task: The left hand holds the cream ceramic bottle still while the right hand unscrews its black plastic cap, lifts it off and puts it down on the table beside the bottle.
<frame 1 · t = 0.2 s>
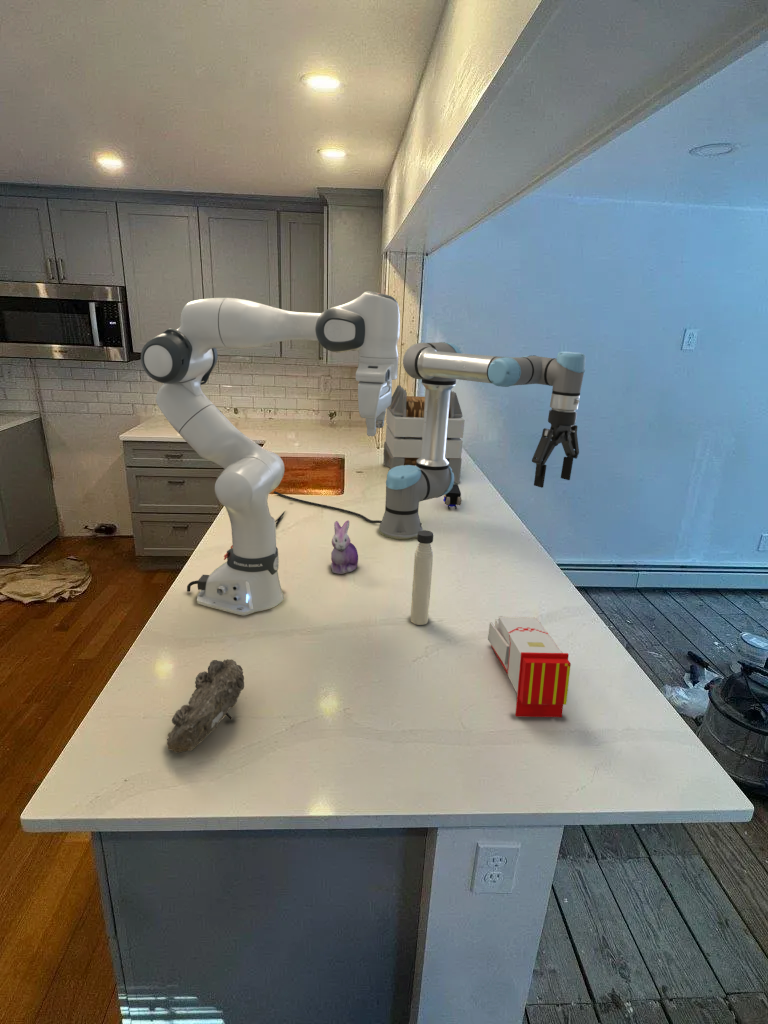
left hand: (375, 431, 131), 48 cm above the counter, tool pointing down, fingers open, 8 cm apart
right hand: (552, 482, 165), 29 cm above the counter, tool pointing down, fingers open, 13 cm apart
feather: (283, 515, 213), on the counter
toy: (520, 675, 125), on the counter
figurine: (344, 568, 172), on the counter
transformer: (419, 473, 275), on the counter
bottle: (419, 620, 145), on the counter
cap: (425, 534, 137), point 24 cm above the counter, screwed on, not yet turned
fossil: (212, 717, 108), on the counter
figurine character: (451, 505, 231), on the counter
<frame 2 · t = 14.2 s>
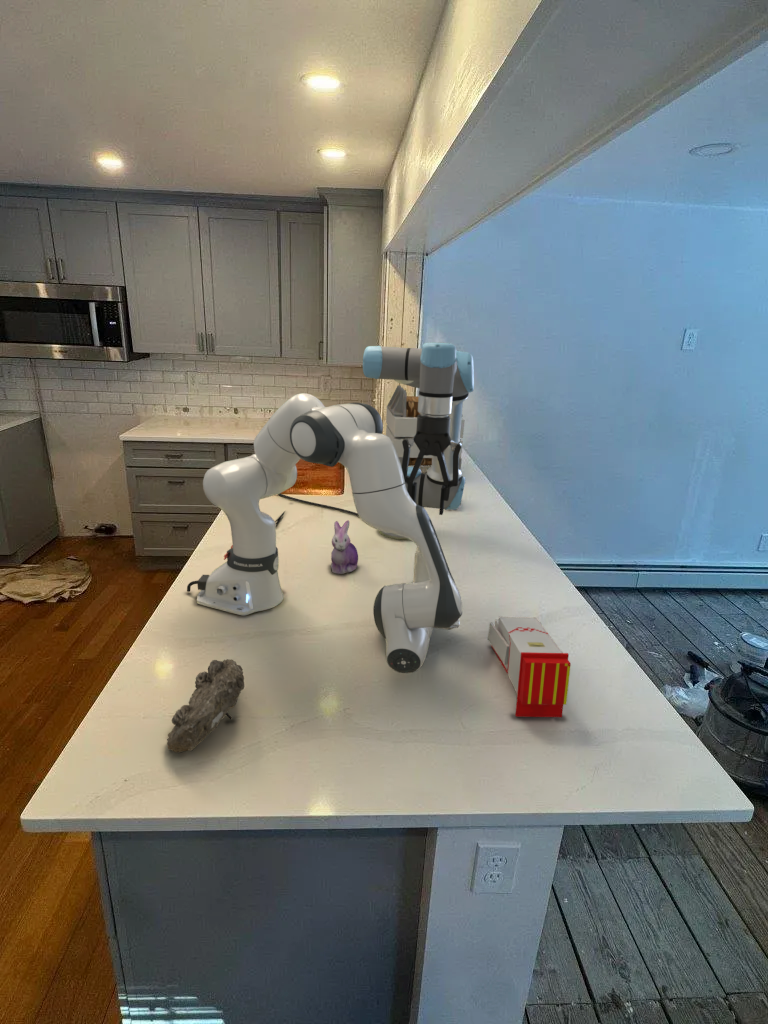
left hand: (421, 595, 144), 7 cm above the counter, tool horizontal, fingers closed on bottle, 4 cm apart
right hand: (427, 511, 135), 30 cm above the counter, tool pointing down, fingers open, 6 cm apart
bottle: (419, 620, 145), on the counter, touching left hand
everything else where it was.
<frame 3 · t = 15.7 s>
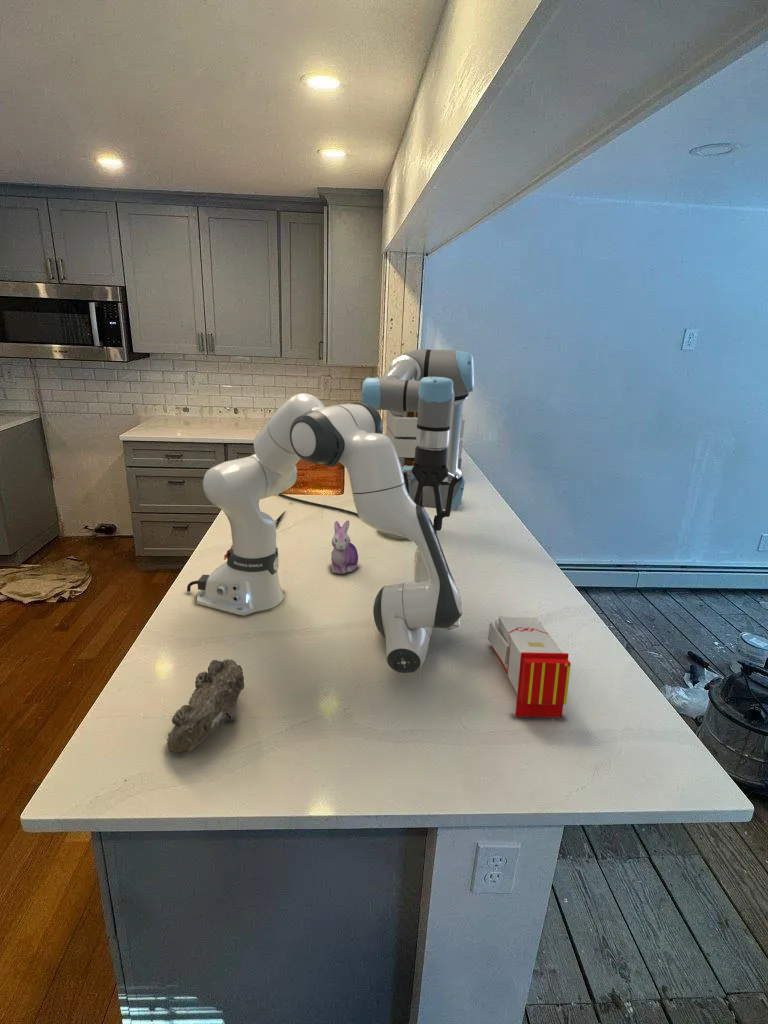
left hand: (421, 595, 144), 7 cm above the counter, tool horizontal, fingers closed on bottle, 4 cm apart
right hand: (425, 541, 137), 22 cm above the counter, tool pointing down, fingers closed on cap, 4 cm apart
bottle: (419, 620, 145), on the counter, touching left hand
cap: (425, 534, 137), point 24 cm above the counter, screwed on, not yet turned, touching right hand
everything else where it was.
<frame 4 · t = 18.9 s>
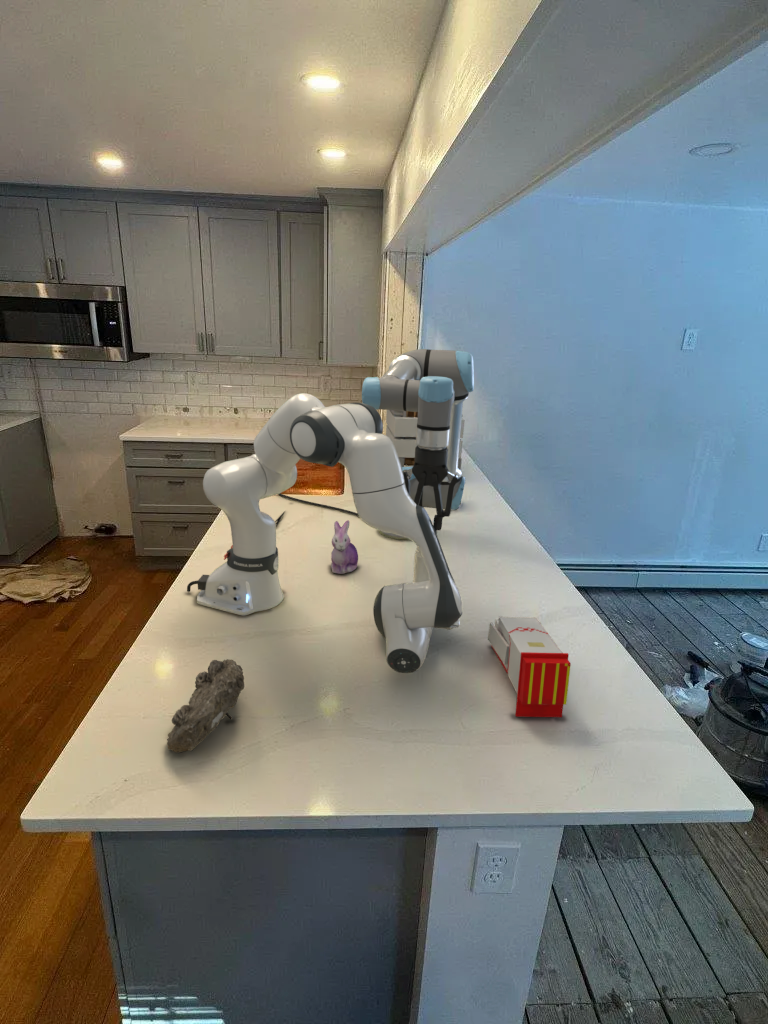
left hand: (421, 595, 144), 7 cm above the counter, tool horizontal, fingers closed on bottle, 4 cm apart
right hand: (425, 540, 137), 22 cm above the counter, tool pointing down, fingers closed on cap, 4 cm apart
bottle: (419, 620, 145), on the counter, touching left hand
cap: (425, 533, 137), point 24 cm above the counter, turned 85° so far, risen 0.1 cm, still on its thread, touching right hand
everything else where it was.
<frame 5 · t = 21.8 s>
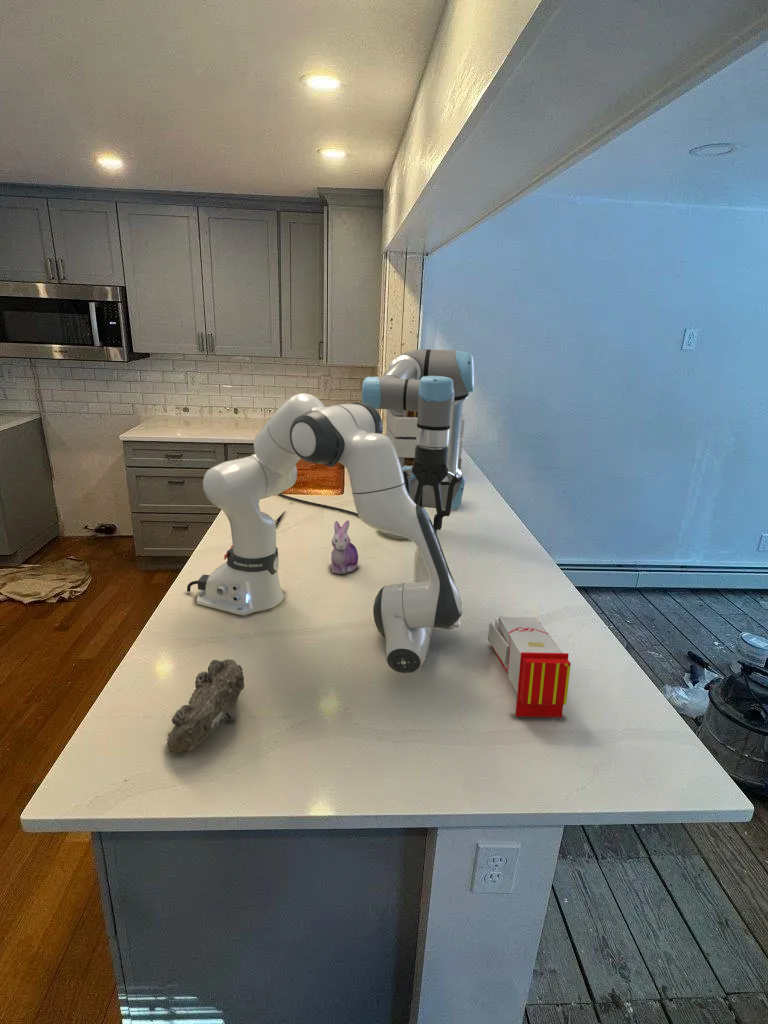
left hand: (421, 595, 144), 7 cm above the counter, tool horizontal, fingers closed on bottle, 4 cm apart
right hand: (425, 540, 137), 22 cm above the counter, tool pointing down, fingers closed on cap, 4 cm apart
bottle: (419, 620, 145), on the counter, touching left hand
cap: (425, 533, 137), point 24 cm above the counter, turned 171° so far, risen 0.2 cm, still on its thread, touching right hand
everything else where it was.
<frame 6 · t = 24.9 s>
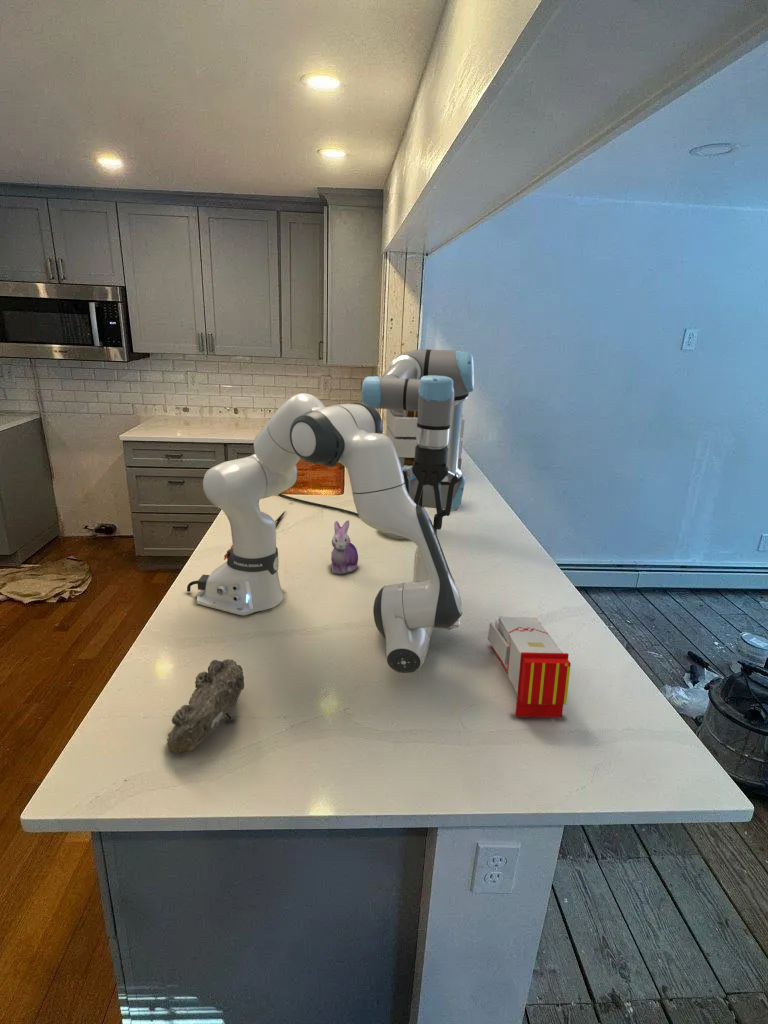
left hand: (421, 595, 144), 7 cm above the counter, tool horizontal, fingers closed on bottle, 4 cm apart
right hand: (425, 539, 137), 22 cm above the counter, tool pointing down, fingers closed on cap, 4 cm apart
bottle: (419, 620, 145), on the counter, touching left hand
cap: (425, 533, 137), point 24 cm above the counter, turned 256° so far, risen 0.3 cm, still on its thread, touching right hand
everything else where it was.
when the right hand's fingers open (1 cm above the counter, at t = 38.4 s): cap stays where it is, point 2 cm above the counter.
when the left hand's fingers open (7 cm above the counter, at t = 39.6 s): bottle stays where it is, on the counter.
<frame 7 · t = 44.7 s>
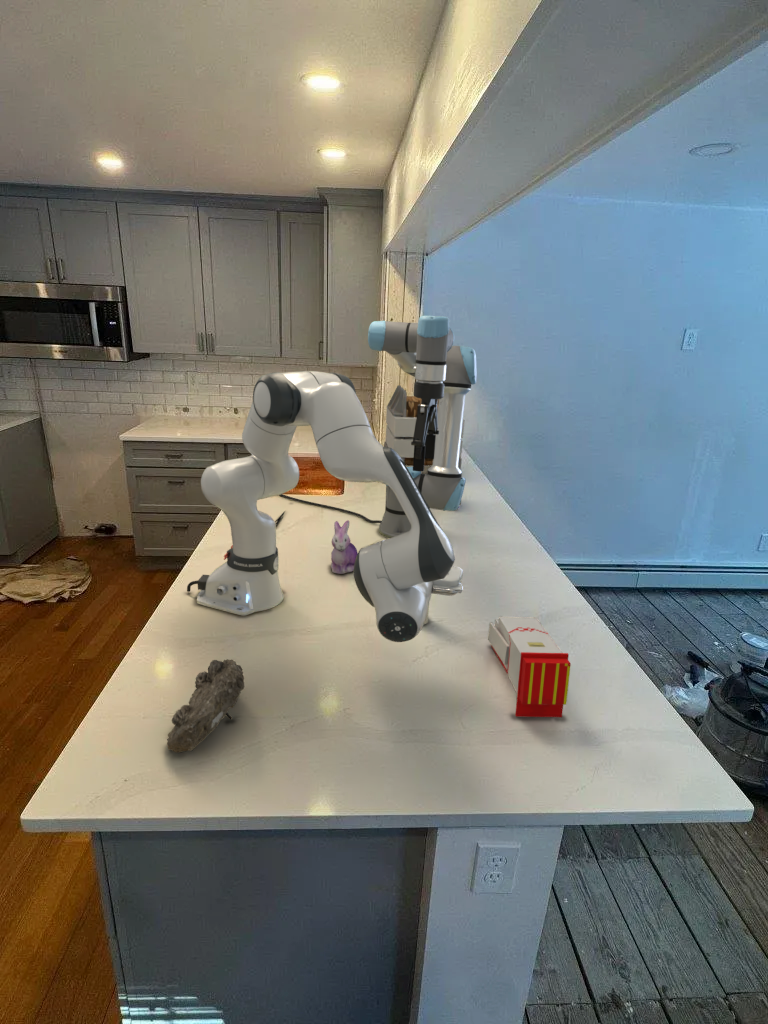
left hand: (418, 560, 127), 22 cm above the counter, tool horizontal, fingers open, 8 cm apart
right hand: (423, 464, 148), 37 cm above the counter, tool pointing down, fingers open, 13 cm apart
bottle: (419, 620, 145), on the counter
cap: (415, 585, 160), point 2 cm above the counter, off its thread
everything else where it was.
at the end: cap came off its thread; cap point 1.7 cm above the counter; the left hand is holding nothing; the right hand is holding nothing; bottle tilted 0°; bottle moved 0.0 cm from its start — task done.
